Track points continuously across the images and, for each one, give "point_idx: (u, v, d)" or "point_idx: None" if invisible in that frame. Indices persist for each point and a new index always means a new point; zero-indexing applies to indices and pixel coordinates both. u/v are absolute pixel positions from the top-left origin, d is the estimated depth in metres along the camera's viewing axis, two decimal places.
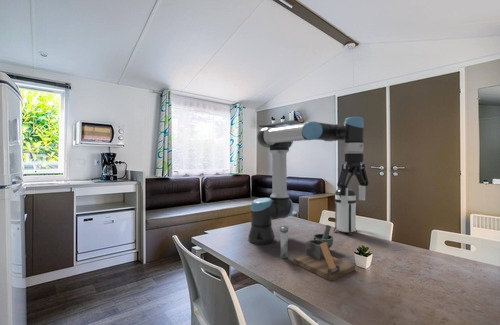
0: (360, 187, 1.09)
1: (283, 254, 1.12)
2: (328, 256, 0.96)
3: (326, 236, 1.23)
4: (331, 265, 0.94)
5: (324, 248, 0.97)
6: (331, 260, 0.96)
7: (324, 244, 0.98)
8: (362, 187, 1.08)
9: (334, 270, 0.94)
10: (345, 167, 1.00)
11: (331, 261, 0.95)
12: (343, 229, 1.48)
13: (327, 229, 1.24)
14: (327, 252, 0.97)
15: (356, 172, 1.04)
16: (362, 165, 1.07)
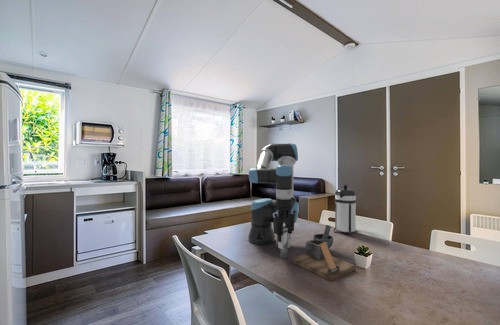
0: None
1: (283, 254, 1.12)
2: (328, 256, 0.96)
3: (326, 236, 1.23)
4: (331, 265, 0.94)
5: (324, 248, 0.97)
6: (331, 260, 0.96)
7: (324, 244, 0.98)
8: None
9: (334, 270, 0.94)
10: (274, 216, 1.09)
11: (331, 261, 0.95)
12: (343, 229, 1.48)
13: (327, 229, 1.24)
14: (327, 252, 0.97)
15: (286, 216, 1.13)
16: (293, 211, 1.16)
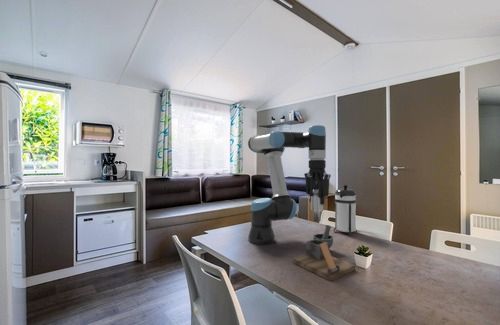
0: None
1: (313, 216, 1.11)
2: (328, 256, 0.96)
3: (326, 236, 1.23)
4: (331, 265, 0.94)
5: (324, 248, 0.97)
6: (331, 260, 0.96)
7: (324, 244, 0.98)
8: None
9: (334, 270, 0.94)
10: None
11: (331, 261, 0.95)
12: (343, 229, 1.48)
13: (327, 229, 1.24)
14: (327, 252, 0.97)
15: (315, 178, 1.09)
16: (325, 175, 1.05)
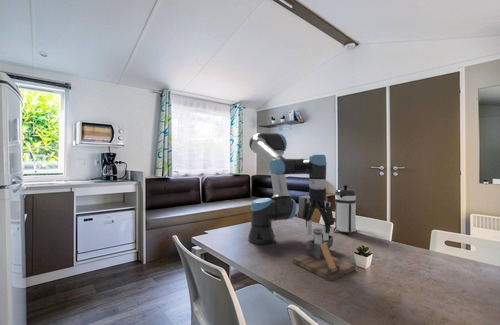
0: None
1: None
2: (328, 256, 0.96)
3: None
4: (331, 265, 0.94)
5: (324, 248, 0.97)
6: (331, 260, 0.96)
7: (324, 244, 0.98)
8: None
9: (334, 270, 0.94)
10: None
11: (331, 261, 0.95)
12: (343, 229, 1.48)
13: None
14: (327, 252, 0.97)
15: (316, 206, 1.10)
16: (326, 203, 1.05)
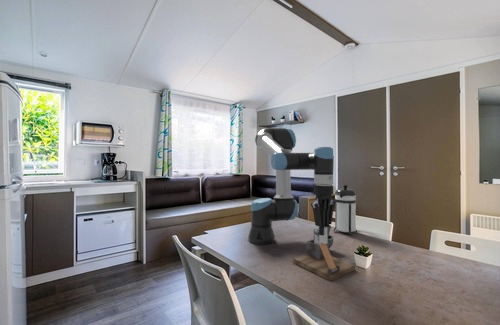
0: None
1: None
2: (328, 256, 0.96)
3: None
4: (331, 265, 0.94)
5: (324, 248, 0.97)
6: (331, 260, 0.96)
7: (324, 244, 0.98)
8: None
9: (334, 270, 0.94)
10: (315, 207, 0.94)
11: (331, 261, 0.95)
12: (343, 229, 1.48)
13: None
14: (327, 252, 0.97)
15: (326, 205, 0.97)
16: (333, 201, 1.00)
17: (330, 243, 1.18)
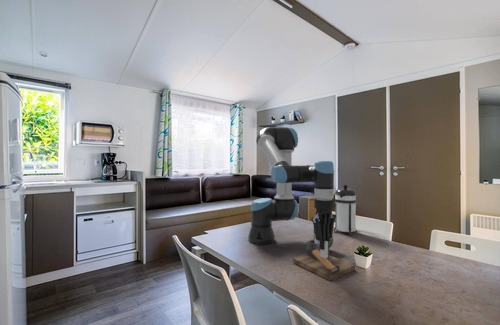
0: None
1: None
2: (323, 259, 0.98)
3: None
4: (329, 266, 0.95)
5: (317, 253, 1.00)
6: (328, 261, 0.97)
7: (316, 250, 1.01)
8: None
9: (334, 269, 0.94)
10: (315, 221, 0.94)
11: (328, 263, 0.97)
12: (343, 229, 1.48)
13: None
14: None
15: (326, 220, 0.97)
16: (333, 215, 1.00)
17: (330, 243, 1.18)
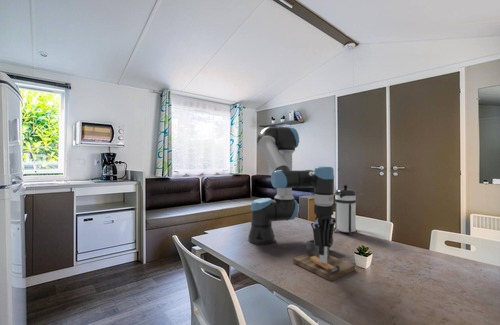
0: None
1: None
2: None
3: None
4: (328, 267, 0.95)
5: (315, 259, 1.01)
6: (327, 264, 0.97)
7: (314, 257, 1.02)
8: None
9: (333, 269, 0.94)
10: (315, 227, 0.94)
11: (327, 264, 0.97)
12: (343, 229, 1.48)
13: None
14: None
15: (326, 225, 0.97)
16: (333, 220, 1.00)
17: None
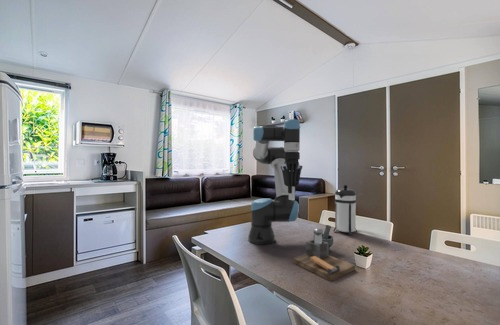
0: None
1: None
2: (322, 262, 0.98)
3: (326, 236, 1.23)
4: (328, 267, 0.95)
5: (315, 259, 1.01)
6: (327, 264, 0.97)
7: (314, 257, 1.02)
8: None
9: (333, 269, 0.94)
10: (283, 169, 1.14)
11: (327, 264, 0.97)
12: (343, 229, 1.48)
13: (327, 229, 1.24)
14: (320, 260, 1.00)
15: (293, 168, 1.17)
16: (300, 166, 1.20)
17: (330, 243, 1.18)
